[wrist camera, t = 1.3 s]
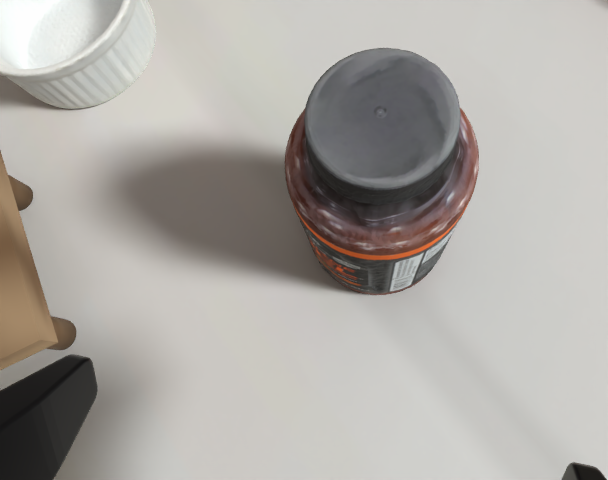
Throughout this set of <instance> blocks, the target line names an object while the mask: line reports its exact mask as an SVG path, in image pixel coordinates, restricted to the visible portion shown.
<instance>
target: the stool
mask: <svg viewBox="0 0 608 480" xmlns="http://www.w3.org/2000/svg"><path fill="white" fill-rule="evenodd" d="M32 199H33V192H32V190H31V188H30V187H28V186H27V185H25V184H23V183H22V182H20V181H18V180H16V179H15V178H13V177H11V176H10V175H8V174H7V171H6V168H5V164H4V161H3V158H2V155H1V151H0V370H2V369H4V368H6V367H8V366H10V365H12V364H14V363H16V362H18V361H21V360H23V359H25V358H27V357H29V356H31V355H33V354H35V353H37V352H39V351H41V350H43V349H54V350H64V349H66V348H68V347H70V346H71V345H72V343H73V342H74V340H75V337H76V328H75V326H74V324H73V323H72V322H70V321H68V320H65V319H60V318H56V317H51V316H50V313H49V310H48V307H47V303H46V300H45V297H44V293H43V290H42V287H41V283H40V280H39V277H38V273H37V270H36V267H35V264H34V260H33V257H32V254H31V250H30V247H29V244H28V240H27V237H26V234H25V231H24V227H23V224H22V221H21V217H20V214H19V211H20V210H23V209H25V208H27V207H28V206H29V205H30V203H31V201H32Z"/></svg>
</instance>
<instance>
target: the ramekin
mask: <svg viewBox="0 0 608 480" xmlns="http://www.w3.org/2000/svg"><path fill="white" fill-rule="evenodd" d="M155 40H156V24H155V21H154V15H153V12H152V10H151V7H150V5H149V2H148V0H0V75H2V76H5V77H7V78H9V79H10V80H11V81H13V82H14V83H16V84H17V85H18V86H20V87H21V88H23V89H24V90H25V91H27V92H28V93H30V94H31V95H33V96H34V97H36V98H37V99H39V100H41V101H43V102H45V103H47V104H50V105H53V106H56V107H60V108H68V109H78V108H86V107H92V106H96V105H99V104H102V103H104V102H106V101H108V100H110V99H112V98H114V97H115V96H117V95H119V94H120V93H122V92H123V91H125V90H126V89H127V88H128V87H130V86H131V85H132V84H133V83H134V82H135V81H136V80H137V79H138V78H139V76H140V75H141V74H142V73H143V71H144V70H145V68H146V66H147V65H148V63H149V61H150V58H151V56H152V53H153V50H154V46H155Z"/></svg>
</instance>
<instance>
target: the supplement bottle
mask: <svg viewBox="0 0 608 480" xmlns="http://www.w3.org/2000/svg"><path fill="white" fill-rule="evenodd" d="M478 169H479V154H478V145H477V140H476V137H475V134H474V131H473V129H472V126H471V124H470V122H469V120H468V119H467V117H466V115H465V113H464V112H463V110H462V109H461V108H460V106H459V101H458V96H457V94H456V92H455V89H454V87H453V85H452V83H451V82H450V81H449V79H448V77H447V76H446V75H445V74H444V73H443V72H442V71H441V69H440V68H439V67H437V66H436V65H435V64H434V63H432V62H430V61H428V60H427V59H425V58H424V57H422V56H420V55H418V54H415V53H413V52H410V51H406V50H400V49H391V48H378V49H370V50H365V51H361V52H357V53H354V54H352V55H350V56H348V57H346V58H344V59H342V60H340V61H338V62H337V63H336V64H335V65H333V66H332V67H330V68H329V69H328V70H327V71H326V72H325V73H324V74H323V75H322V76H321V77H320V79H319V80H318V81H317V83H316V84H315V86H314V88H313V90H312V91H311V94H310V96H309V98H308V101H307V104H306V108H305V109H304V111H303V112H302V113H301V115H300V116H299V118H298V119H297V121H296V123H295V125H294V127H293V129H292V132H291V134H290V137H289V140H288V144H287V147H286V153H285V174H286V182H287V187H288V191H289V194H290V197H291V200H292V202H293V205H294V208H295V210H296V213H297V215H298V217H299V219H300V222H301V223H302V226H303V228H304V230H305V232H306V234H307V236H308V239H309V241H310V244H311V246H312V248H313V251H314V253H315V255H316V257H317V258H318V260H319V263H320V264H321V265H322V267H323V269H324V270H326V271H327V272H328V273H329V274H330V275H331V276H332V277H333V278H334V279H335V280H337V281H338V282H339V283H341V284H342V285H344V286H346V287H348V288H350V289H352V290H355V291H357V292H361V293H365V294H370V295H386V294H391V293H396V292H400V291H403V290H405V289H407V288H410V287H412V286H413V285H415V284H416V283H418V282H419V281H421V280H422V279H423V278H424V277H425V276H426V275H427V274H428V273H429V272H430V271H431V269H432V268H433V267H434V265H435V264H436V263H437V261H438V260H439V258H440V256H441V254H442V253H443V251H444V248H445V246H446V245H447V243H448V241H449V239H450V237H451V235H452V233H453V232H454V230H455V228H456V226H457V224H458V222H459V220H460V218H461V217H462V215H463V213H464V211H465V209H466V207H467V205H468V203H469V201H470V199H471V197H472V194H473V191H474V188H475V184H476V180H477V175H478Z"/></svg>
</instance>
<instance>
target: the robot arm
mask: <svg viewBox="0 0 608 480" xmlns="http://www.w3.org/2000/svg"><path fill="white" fill-rule="evenodd" d="M96 395H97V382H96V377H95V372H94V368H93V363H92V361H91V360H90V358H88V357H83V356H79V355H68V356H66V357H64V358H62V359H60V360H58V361H56V362H54V363H52V364H50V365H48V366H47V367H45V368H43V369H41V370H39V371H37V372H35V373H33V374H31V375H29V376H28V377H26V378H24V379H22V380H20V381H18V382H16V383H14V384H12V385H10V386H8V387H7V388H5V389H3V390H1V391H0V480H53V479H54V477H55V476H56V474H57V472H58V471H59V469H60V467H61V465H62V463H63V462H64V460H65V458H66V456H67V454H68V452H69V450H70V448H71V446H72V444H73V442H74V440H75V438H76V436H77V434H78V432H79V430H80V428H81V426H82V424H83V422H84V420H85V418H86V416H87V414H88V412H89V410H90V408H91V406H92V404H93V402H94V400H95V398H96ZM562 480H607V479H606V478H605V477H604V475H603V474H602V473H601V472H600V470H598V469H597V468H596V467H593V466H589V465H585V464H580V463H575V462H574V463H570V464H569V465H568V467H567V469H566V471H565V473H564V475H563V477H562Z"/></svg>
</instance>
